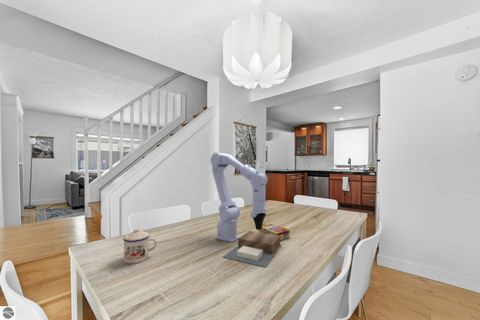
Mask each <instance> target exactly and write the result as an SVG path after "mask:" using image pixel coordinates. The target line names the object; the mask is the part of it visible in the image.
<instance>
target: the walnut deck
mask: <svg viewBox="0 0 480 320" xmlns="http://www.w3.org/2000/svg"><path fill="white" fill-rule="evenodd" d="M237 241H238V242H237V247H239V248H241V247H243V246H246V247H251V248H256V249H261V250H263V253H268V254H272V255H274V254H275V252H276V251H277V250H278V249H279V247H280V245H281V240H280V236H277V235H271V234H265V233H259V232H257V231H252V230H248V231H246V232H245V233H244V234H242V235H241V236H240V237H239V238H238V239H237Z"/></svg>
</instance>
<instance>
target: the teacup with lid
mask: <svg viewBox="0 0 480 320" xmlns="http://www.w3.org/2000/svg"><path fill="white" fill-rule="evenodd" d="M133 229H134V230H133V231H132V232H130V233H127V234H126V235H125V236H124V237H123V262H124V263H125V264H128V265H129V264H137V263H138V264H139V263H141V262H143V261H146V260H147V259H148V257H149V252H152V251H154V250H155V249H156V247H157V244H158V242H157V239H156V238H153V237H151V238H150V234H149V233H148V232H146V231H142V230H140V228H133ZM150 241H152V242H154V245H153V247H152V248H149V242H150Z"/></svg>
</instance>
